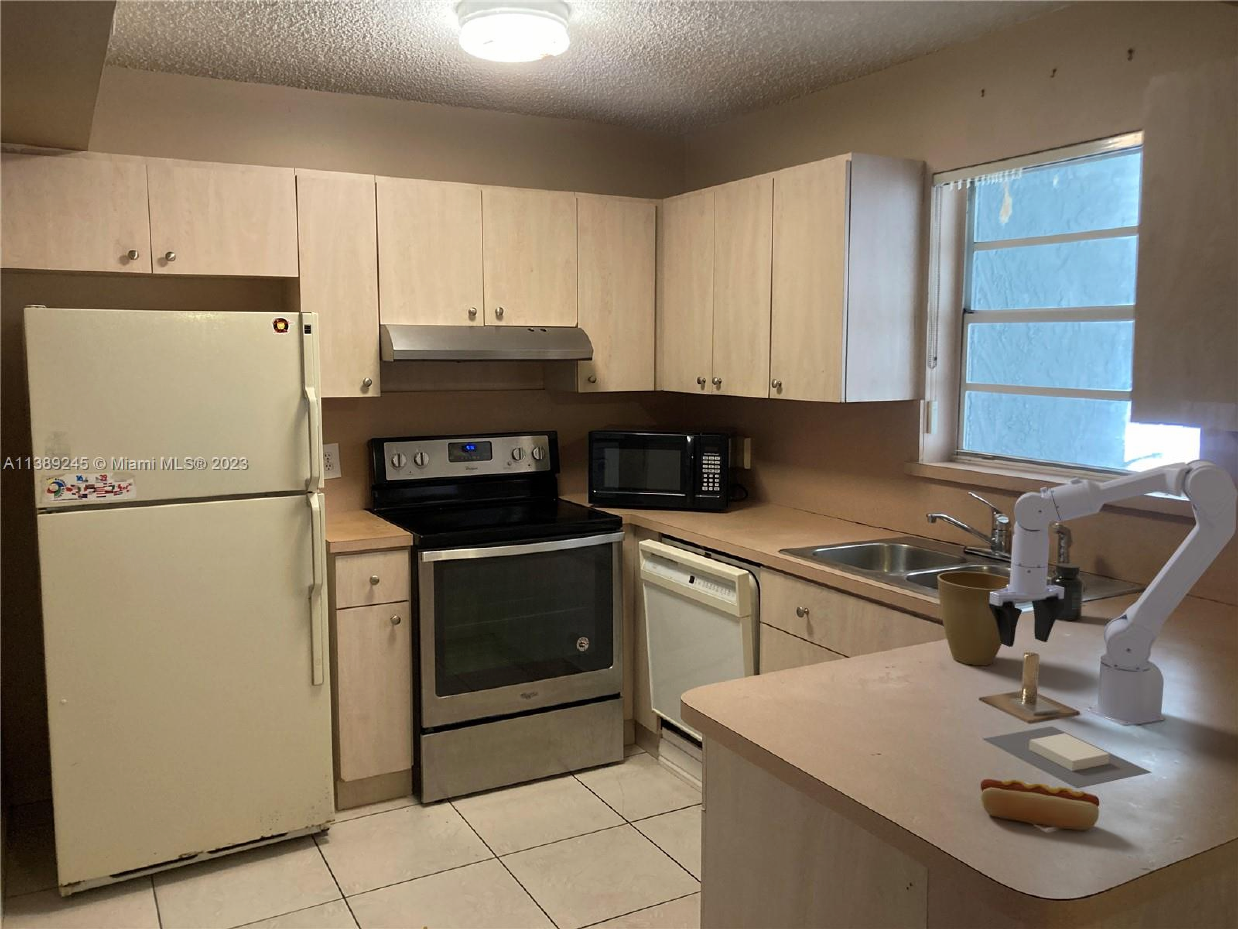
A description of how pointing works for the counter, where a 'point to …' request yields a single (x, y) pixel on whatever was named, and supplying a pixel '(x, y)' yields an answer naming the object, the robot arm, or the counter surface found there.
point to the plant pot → (970, 615)
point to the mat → (1078, 778)
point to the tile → (1069, 752)
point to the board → (1004, 705)
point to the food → (1040, 804)
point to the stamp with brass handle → (1032, 689)
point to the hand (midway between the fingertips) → (1024, 642)
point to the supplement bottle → (1069, 590)
